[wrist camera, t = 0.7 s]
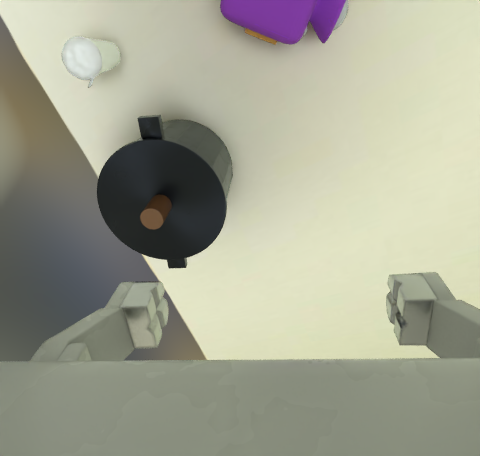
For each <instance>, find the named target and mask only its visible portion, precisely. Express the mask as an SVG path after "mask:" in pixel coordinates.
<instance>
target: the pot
mask: <svg viewBox="0 0 480 456" xmlns="http://www.w3.org/2000/svg"><path fill="white" fill-rule="evenodd" d="M138 122H139V127H140V132H141V138H140V139H139V140H142V139H149V138H160V139H167V140H171V141H175V142H178V143H181V144H183V145H186V146H187V147H189V148H191V149H193V150H194V151H196V152H197V153H199V154H200V155H201V156H202V157H203V158H205V159H206V160H207V161H208V162H209V163H210V165H211V166H212V167H213V168H214V170H215V171H216V173H217V174H218V176H219V178H220V180H221V182H222V184H223V187H224V190H225V195H226V198H227V195H228V191H229V188H230V184H231V180H232V177H233V174H232V162H231V158H230V155H229V152H228V150H227V148H226V146H225V145H224V143H223V142H222V140H221V139H220V138H219V137H218V136H217V135H216V134H215V133H214V132H213V131H211V130H210V129H209V128H207V127H205V126H203V125H201V124H199V123H196V122H193V121H188V120H172V121H167V122H164V123H162V120H161V115H152V116H140V117H139V118H138ZM137 141H138V140H137ZM167 262H168V267H169V268H186V266H187V259H186V258H182V259H175V260H167Z"/></svg>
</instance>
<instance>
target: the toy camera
mask: <svg viewBox="0 0 480 456" xmlns="http://www.w3.org/2000/svg"><path fill="white" fill-rule="evenodd" d="M220 8H221V12H222V14H223V16H224V17H225V18H226V19H228V20H229V21H231V22H233V23H235V24H237V25H240V26H242V27H245V28H246V29H245V33H247V34H249V35H252V36H254V37H257V38H259V39H262V40H264V41H267V42H270V43H272V44H275V45H276V43H277V41H279V42H282V43H285V44H295V43H297V42H298V41H299V40H300V39H301V37H302V36H304V35H305V34H306V32H307V25H308V22H309V21H310V23H311V24H312V26H313V28H314V30H315V32H316V34H317V36H318V37H319V39H320V40H321V42H322V43H325V42H326V41H327V39H328V38H329V36H330V34H331V33H332V31H333V30H335V29H337V28H338V27H339V26H340V25H341V24H342V22H343V21H344V19H345V17H346V15H347V11H348V0H221V4H220Z"/></svg>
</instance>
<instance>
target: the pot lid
mask: <svg viewBox="0 0 480 456" xmlns="http://www.w3.org/2000/svg"><path fill="white" fill-rule="evenodd" d="M97 198H98V204H99V208H100V211H101V214H102V216H103V218H104V220H105V222H106V224H107V225H108V227H109V228H110V229H111V231H112V232H113V233H114V234H115V236H116V237H117V238H119V239H120V240H121V241H122V242H123V243H124V244H126V245H127V246H128V247H130V248H131V249H133V250H135V251H137V252H139V253H141V254H143V255H146V256H149V257H153V258H157V259H164V260H175V259H182V258H187V257H190V256H193V255H195V254H197V253H199V252H201V251H203V250H204V249H206V248H207V247H208V246H209V245H210V244H212V243H213V241H214V240H215V239H216V238H217V236H218V235H219V233H220V231H221V229H222V227H223V224H224V221H225V217H226V210H227V202H226V195H225V190H224V187H223V184H222V182H221V180H220V178H219V176H218V174H217V173H216V171H215V170H214V168H213V167H212V166H211V165H210V163H209V162H208V161H207V160H206V159H205V158H203V157H202V156H201V155H200V154H199V153H197V152H196V151H194V150H193V149H191V148H189V147H187V146H186V145H183V144H181V143H178V142H175V141H171V140H167V139H160V138H149V139H142V140H138V141H134V142H131V143H129V144H127V145H125V146H123V147H122V148H120V149H119V150H117V151H116V152H115V153H114V154H113V155H112V156H111V157H110V158H109V159H108V160H107V162H106V163H105V165H104V166H103V168H102V170H101V173H100V176H99V179H98V186H97Z"/></svg>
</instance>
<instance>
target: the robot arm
mask: <svg viewBox="0 0 480 456" xmlns="http://www.w3.org/2000/svg"><path fill="white" fill-rule="evenodd" d="M388 286H389V289H390V292H389V293H388V294H387V298H386V307H387V314H388V318H389V320H390V322H391V323H393V324H394V333H395V335H396V337H397V340H398V342H399V345H427V347H428V348H429V349H430V350H431V351H433V352H434V353H435V354H436V355H437V356H439V357H440V358H418V359H287V360H163V361H162V360H152V361H123V360H124V359H125V358H126V357H127V356H128V355H129V354H130V353H132V352H133V351H134V349H138V348H139V349H140V348H157V347H158V344H159V342H160V339H161V337H162V331H161V329H162V328H164V327H165V326H166V323H167V320H168V304H167V301H166V300H165V299H164V298H163V297H162V296H163V294H164V291H165V290H164V287H163V283H162V282H122V283H120V285H119V286H118V288H117V289H116V291H115V292H114V294H113V296H112V297H111V299H110V300H109V302H108V303H107V305H106V307H105V308H102V309H99V310H97V311H95V312H94V313H92V314H90V315H89V316H87V317H85V318H84V319H82V320H80V321H79V322H77V323H75V324H74V325H72V326H70V327H69V328H67V329H65V330H64V331H62V332H60V333H59V334H57V335H55V336H53V337H52V338H50V339H48V340H47V341H45V342H44V343H43V344H42V345H41V347H40V348H39V349H38V351H37V352H36V353H35V354H34V356H33V357H32V358H31V360H30V361H23V362H22V361H21V362H20V361H17V362H16V361H15V362H0V456H480V309H478V308H476V307H474V306H472V305H470V304H468V303H466V302H464V301H462V300H456V299H455V297H454V296H453V295H452V293H451V292H450V290H449V289H448V287H447V286H446V285H445V283H444V282H443V280H442V279H441V277H440V276H439V275H438V273H436V272H426V273H412V274H392V275H389V278H388Z"/></svg>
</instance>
